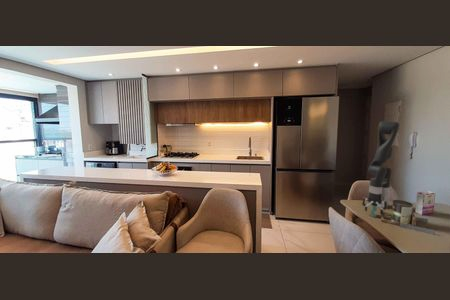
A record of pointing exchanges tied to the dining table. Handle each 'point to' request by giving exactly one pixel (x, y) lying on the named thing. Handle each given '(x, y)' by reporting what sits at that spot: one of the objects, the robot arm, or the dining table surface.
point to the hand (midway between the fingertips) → (373, 212)
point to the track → (418, 227)
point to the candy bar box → (425, 202)
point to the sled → (373, 214)
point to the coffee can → (401, 211)
